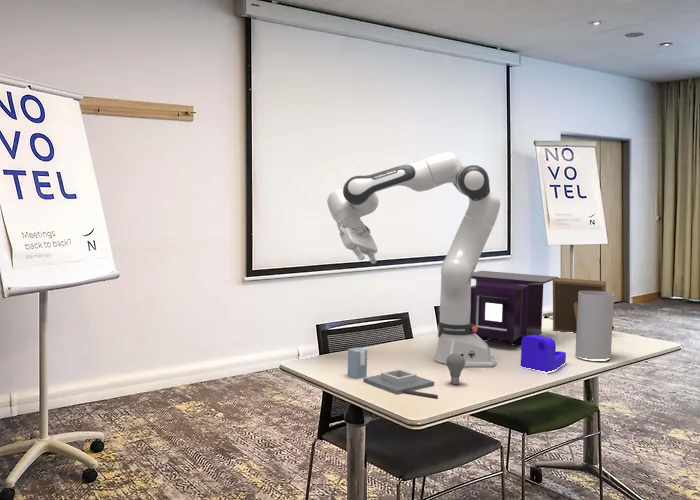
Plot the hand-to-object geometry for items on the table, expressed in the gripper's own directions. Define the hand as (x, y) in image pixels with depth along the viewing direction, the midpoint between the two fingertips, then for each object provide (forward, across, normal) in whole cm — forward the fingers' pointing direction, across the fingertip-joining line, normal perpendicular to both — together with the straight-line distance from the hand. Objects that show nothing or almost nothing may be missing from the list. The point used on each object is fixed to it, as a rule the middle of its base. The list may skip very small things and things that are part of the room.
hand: (368, 261), depth 220 cm
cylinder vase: (+61, +60, -41) cm, 95 cm away
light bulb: (+52, +1, -7) cm, 52 cm away
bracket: (+58, +39, -29) cm, 75 cm away
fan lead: (+52, -16, -1) cm, 54 cm away
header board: (+44, -8, +7) cm, 45 cm away
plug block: (+35, -8, +19) cm, 41 cm away
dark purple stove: (+37, +72, -12) cm, 81 cm away
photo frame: (+46, +100, -36) cm, 116 cm away
